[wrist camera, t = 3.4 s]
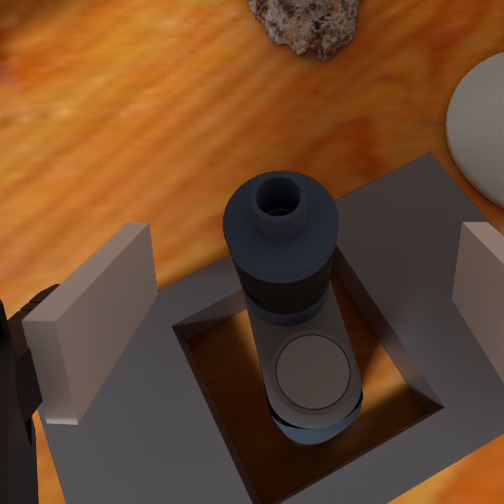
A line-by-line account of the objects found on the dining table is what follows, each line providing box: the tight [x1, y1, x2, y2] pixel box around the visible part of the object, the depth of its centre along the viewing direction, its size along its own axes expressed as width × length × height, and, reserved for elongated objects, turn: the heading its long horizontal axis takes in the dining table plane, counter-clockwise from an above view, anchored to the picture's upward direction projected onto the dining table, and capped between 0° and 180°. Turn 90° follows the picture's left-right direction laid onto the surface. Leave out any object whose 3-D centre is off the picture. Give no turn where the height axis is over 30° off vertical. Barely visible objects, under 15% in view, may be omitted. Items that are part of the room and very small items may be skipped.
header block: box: [37, 152, 504, 504], centre depth 18 cm, size 10×18×2 cm, turn 117°
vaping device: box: [223, 171, 363, 445], centre depth 14 cm, size 3×5×12 cm, turn 13°
